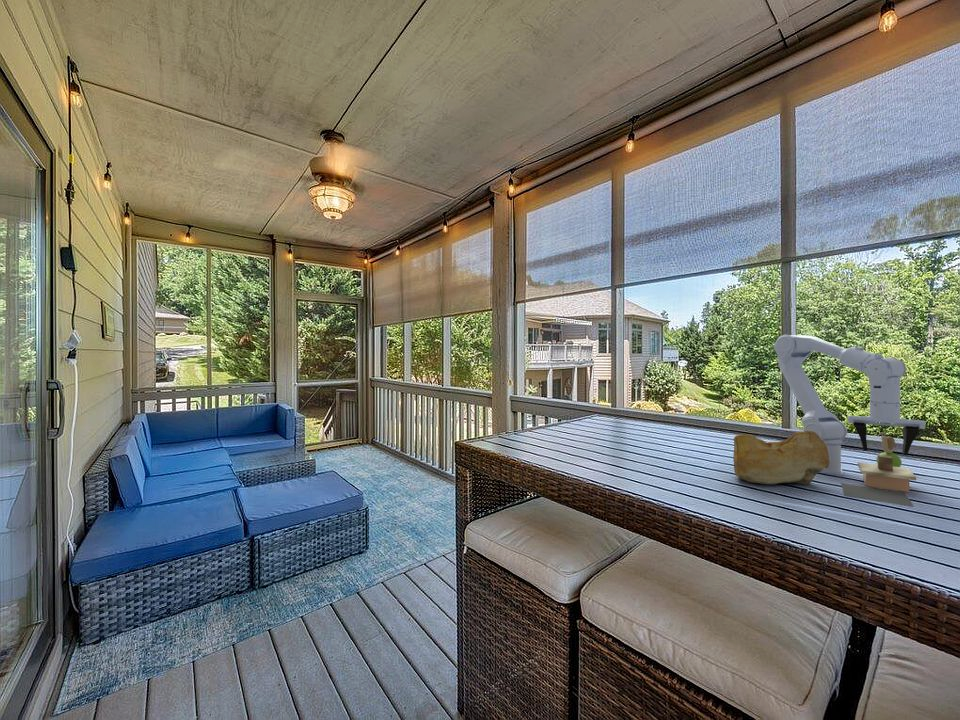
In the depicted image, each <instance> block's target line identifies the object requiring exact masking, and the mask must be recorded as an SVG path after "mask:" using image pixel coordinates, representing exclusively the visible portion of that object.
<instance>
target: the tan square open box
mask: <svg viewBox="0 0 960 720" xmlns="http://www.w3.org/2000/svg"><path fill="white" fill-rule="evenodd" d="M862 480H863V483H864V485H865V487H869V488H876V489H883V490H890V491H897V492H903V493H910V480H908V479H901V478H893V477H886V476H878V475H870V474H863V473H862Z"/></svg>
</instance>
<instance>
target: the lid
mask: <svg viewBox="0 0 960 720" xmlns="http://www.w3.org/2000/svg"><path fill="white" fill-rule="evenodd" d="M877 456H878V463H877V464H875V463H874V464H873V463H866V462H858V461H857V467H858V468H859V471H860V473H861V474H862V475H863V474H870V475H878V476H886V477H893V478H901V479H908V480H909V481H910V480H911V481H917V477H916V475H915V474H914V473H913V471H912V470H910V469H909V468H908V467H901V466H900V467H893V458H892V457H891V456H884V455H879V454H877Z"/></svg>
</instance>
